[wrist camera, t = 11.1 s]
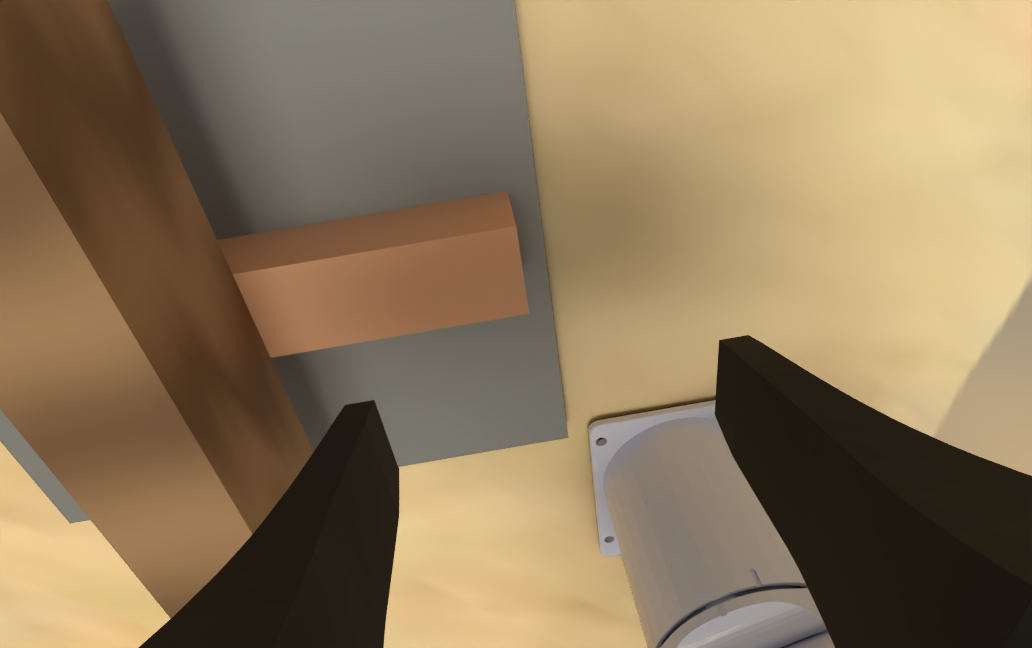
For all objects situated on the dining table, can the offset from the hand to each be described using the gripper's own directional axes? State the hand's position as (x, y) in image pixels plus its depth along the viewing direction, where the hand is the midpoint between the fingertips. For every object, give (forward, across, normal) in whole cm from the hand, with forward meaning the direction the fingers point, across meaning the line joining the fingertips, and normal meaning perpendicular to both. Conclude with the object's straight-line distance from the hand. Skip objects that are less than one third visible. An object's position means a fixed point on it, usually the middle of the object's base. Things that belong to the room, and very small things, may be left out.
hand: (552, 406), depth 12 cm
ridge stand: (+10, +10, 0) cm, 14 cm away
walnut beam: (+6, +10, 0) cm, 12 cm away
